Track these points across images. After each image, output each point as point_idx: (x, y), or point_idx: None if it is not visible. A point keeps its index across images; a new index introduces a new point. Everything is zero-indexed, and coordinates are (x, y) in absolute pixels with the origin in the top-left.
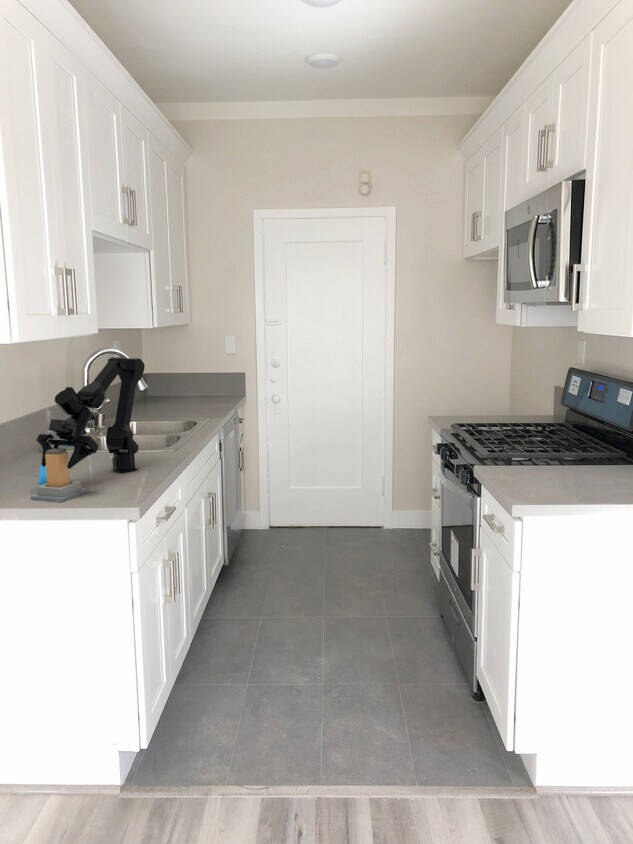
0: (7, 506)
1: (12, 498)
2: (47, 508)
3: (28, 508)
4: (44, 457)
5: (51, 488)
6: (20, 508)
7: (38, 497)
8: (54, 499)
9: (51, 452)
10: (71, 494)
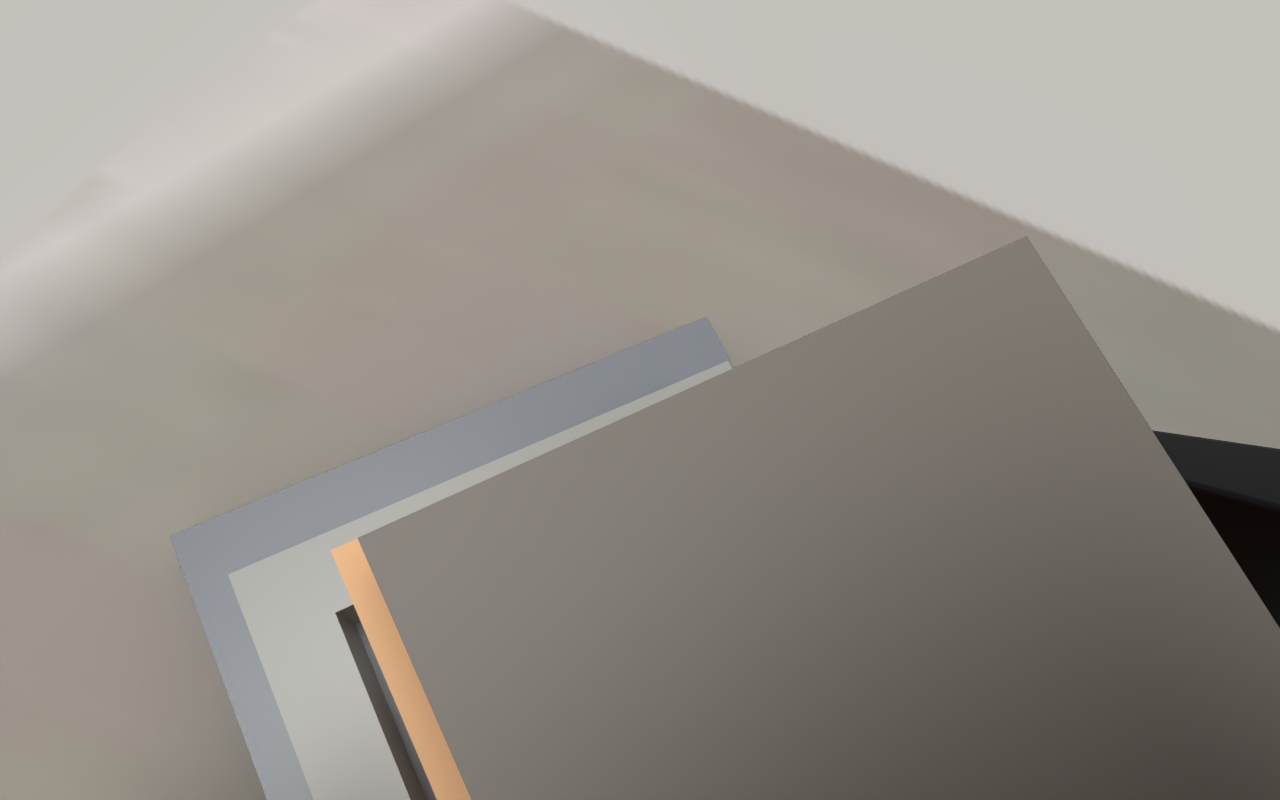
0: (610, 44)
1: (917, 226)
2: (81, 275)
3: (312, 136)
4: (1216, 485)
5: (448, 483)
6: (398, 84)
7: (586, 369)
8: (307, 482)
9: (726, 392)
10: (294, 792)
